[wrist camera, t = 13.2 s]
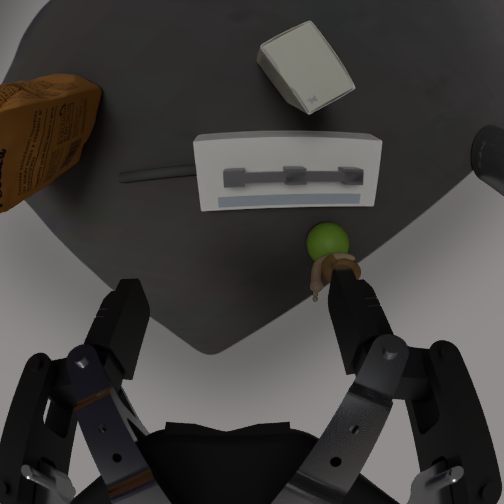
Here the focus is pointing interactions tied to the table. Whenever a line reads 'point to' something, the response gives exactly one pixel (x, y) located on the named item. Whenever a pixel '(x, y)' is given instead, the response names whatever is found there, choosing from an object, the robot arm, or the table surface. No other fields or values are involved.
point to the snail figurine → (328, 254)
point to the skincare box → (304, 68)
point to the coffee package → (42, 131)
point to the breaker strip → (277, 168)
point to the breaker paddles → (292, 176)
